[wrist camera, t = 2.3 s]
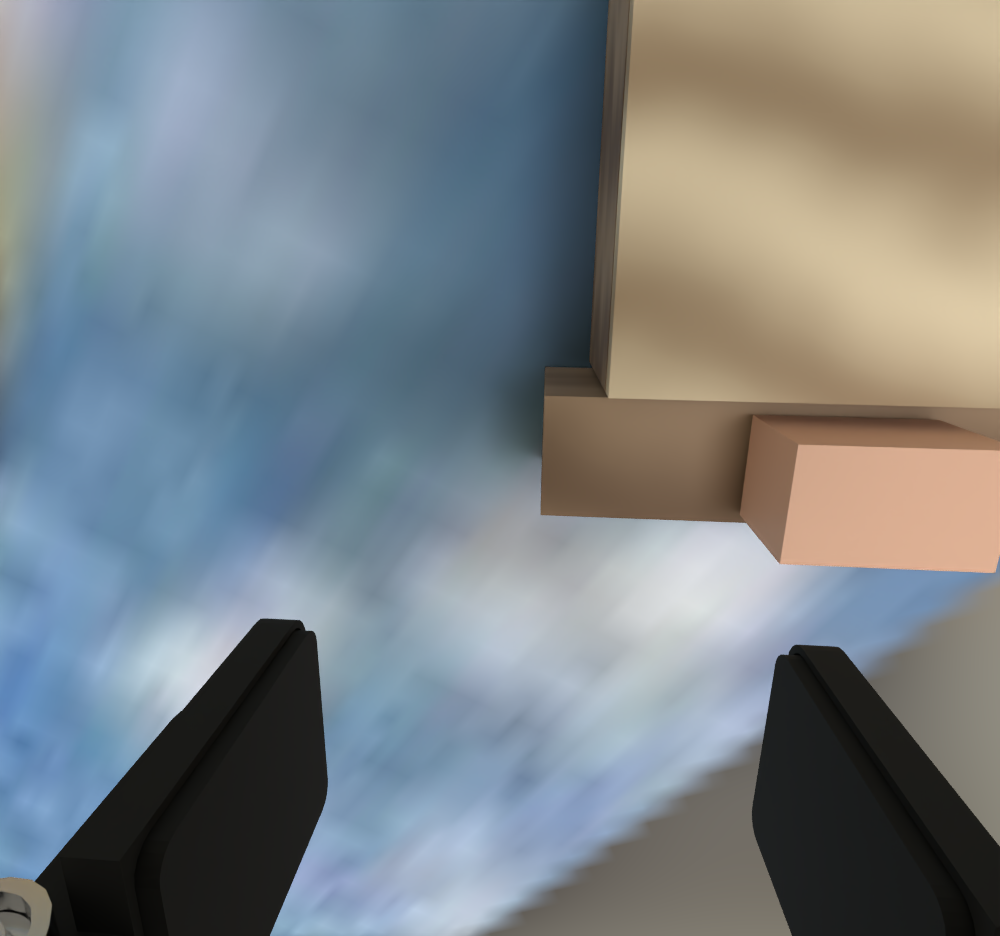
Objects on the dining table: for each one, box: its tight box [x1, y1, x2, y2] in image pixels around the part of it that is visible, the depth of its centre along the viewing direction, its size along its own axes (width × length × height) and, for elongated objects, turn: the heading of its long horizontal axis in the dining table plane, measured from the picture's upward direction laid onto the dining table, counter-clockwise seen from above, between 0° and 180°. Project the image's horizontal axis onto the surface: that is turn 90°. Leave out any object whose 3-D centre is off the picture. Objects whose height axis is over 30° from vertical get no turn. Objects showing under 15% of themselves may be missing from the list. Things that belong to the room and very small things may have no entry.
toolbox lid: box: [606, 0, 1000, 408], centre depth 16 cm, size 16×16×4 cm
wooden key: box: [740, 415, 1000, 573], centre depth 20 cm, size 4×6×4 cm, turn 89°
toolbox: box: [541, 0, 1000, 523], centre depth 23 cm, size 21×28×8 cm
